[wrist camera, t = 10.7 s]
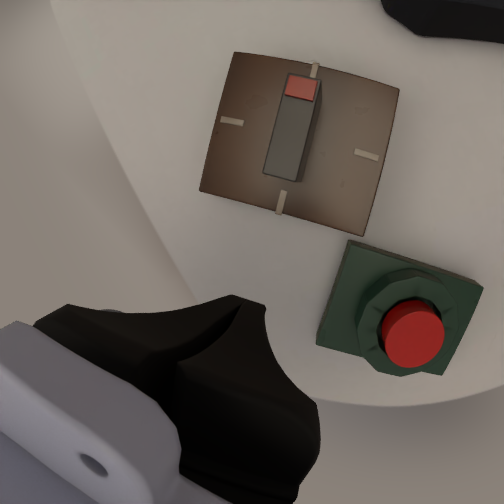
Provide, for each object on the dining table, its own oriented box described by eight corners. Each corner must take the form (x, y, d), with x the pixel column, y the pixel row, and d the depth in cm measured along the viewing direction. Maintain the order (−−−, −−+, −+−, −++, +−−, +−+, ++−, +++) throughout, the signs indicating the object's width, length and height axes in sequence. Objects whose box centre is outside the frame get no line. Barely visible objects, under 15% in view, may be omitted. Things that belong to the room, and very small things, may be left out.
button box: (316, 333, 22) (313, 358, 19) (348, 238, 20) (353, 250, 17) (436, 364, 20) (448, 390, 17) (474, 280, 19) (495, 296, 15)
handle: (301, 182, 18) (295, 182, 14) (273, 174, 18) (260, 173, 14) (322, 98, 16) (321, 78, 13) (294, 91, 16) (287, 70, 13)
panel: (211, 191, 21) (196, 192, 19) (244, 62, 19) (233, 48, 16) (358, 232, 20) (363, 239, 17) (392, 97, 17) (401, 86, 15)
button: (372, 346, 18) (375, 360, 16) (394, 292, 17) (400, 303, 15) (421, 358, 18) (427, 373, 16) (444, 307, 17) (454, 319, 15)
